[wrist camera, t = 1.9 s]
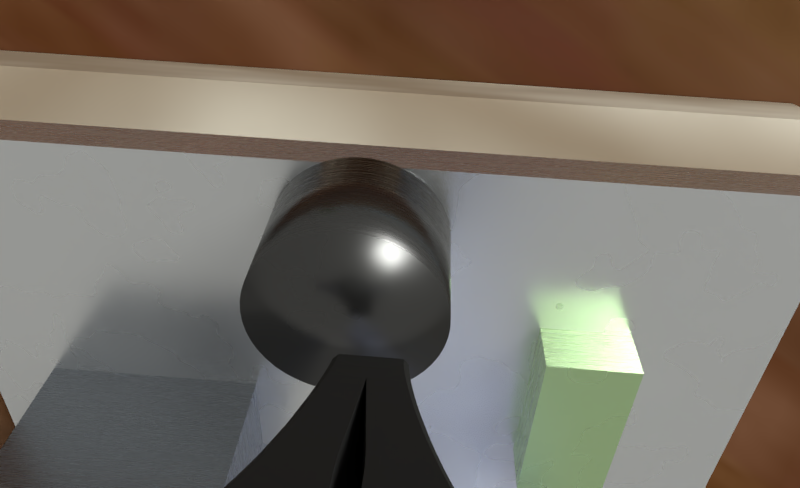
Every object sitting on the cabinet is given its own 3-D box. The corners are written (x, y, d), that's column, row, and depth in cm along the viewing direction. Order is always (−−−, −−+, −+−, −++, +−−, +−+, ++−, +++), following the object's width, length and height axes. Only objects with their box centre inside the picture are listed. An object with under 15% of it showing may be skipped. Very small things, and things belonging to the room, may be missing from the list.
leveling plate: (667, 519, 24) (711, 673, 20) (58, 469, 24) (-20, 610, 20) (835, 169, 16) (969, 310, 12) (-88, 106, 16) (-269, 219, 12)
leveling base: (673, 487, 26) (691, 529, 24) (62, 438, 27) (35, 475, 25) (792, 103, 20) (828, 121, 18) (-18, 48, 20) (-63, 61, 18)
